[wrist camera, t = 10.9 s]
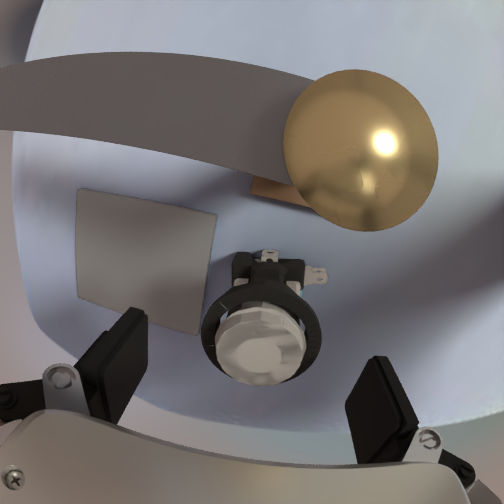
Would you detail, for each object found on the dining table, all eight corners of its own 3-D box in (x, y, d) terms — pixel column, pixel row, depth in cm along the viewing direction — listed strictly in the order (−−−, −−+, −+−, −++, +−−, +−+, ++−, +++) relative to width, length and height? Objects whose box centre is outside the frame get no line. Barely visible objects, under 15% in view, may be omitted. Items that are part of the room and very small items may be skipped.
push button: (327, 236, 19) (367, 303, 10) (320, 304, 21) (341, 400, 12) (232, 231, 20) (190, 294, 11) (232, 299, 22) (200, 392, 12)
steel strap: (368, 220, 8) (410, 251, 5) (-3, 134, 8) (-52, 139, 5) (396, 125, 7) (451, 110, 4) (11, 72, 7) (-36, 66, 4)
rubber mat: (217, 214, 20) (215, 215, 19) (199, 332, 23) (197, 336, 22) (81, 188, 20) (77, 189, 20) (81, 294, 23) (78, 297, 23)
